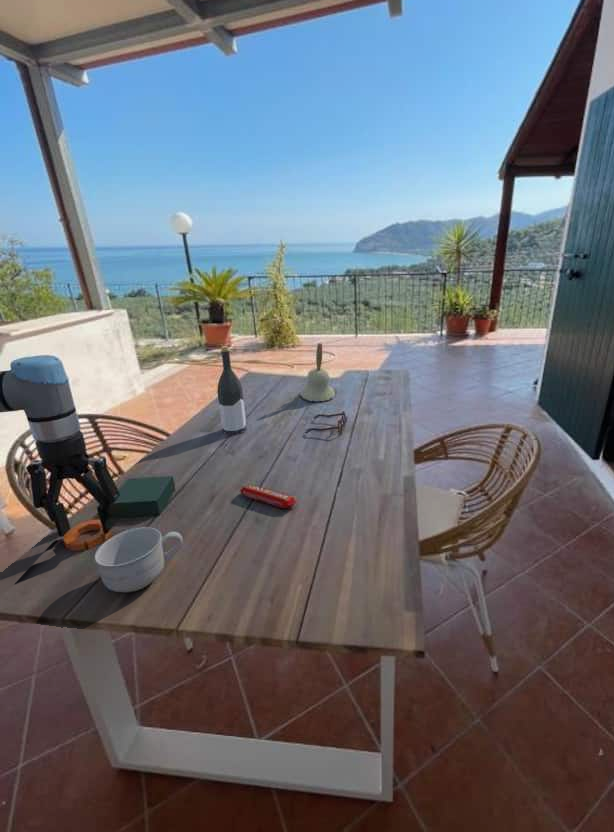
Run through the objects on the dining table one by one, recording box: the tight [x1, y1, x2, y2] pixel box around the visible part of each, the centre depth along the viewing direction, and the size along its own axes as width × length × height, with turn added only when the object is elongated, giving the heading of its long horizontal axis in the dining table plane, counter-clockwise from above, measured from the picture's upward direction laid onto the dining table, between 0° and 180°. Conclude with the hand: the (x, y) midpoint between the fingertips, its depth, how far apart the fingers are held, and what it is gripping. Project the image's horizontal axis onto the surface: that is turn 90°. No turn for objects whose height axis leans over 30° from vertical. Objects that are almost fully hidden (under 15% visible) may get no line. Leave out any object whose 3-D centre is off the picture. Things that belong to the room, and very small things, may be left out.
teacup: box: [94, 526, 184, 593], centre depth 72 cm, size 14×11×8 cm
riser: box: [111, 475, 176, 519], centre depth 95 cm, size 11×11×4 cm
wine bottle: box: [216, 345, 247, 435], centre depth 132 cm, size 8×8×30 cm
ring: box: [62, 518, 113, 552], centre depth 84 cm, size 8×8×2 cm
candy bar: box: [239, 483, 298, 509], centre depth 96 cm, size 16×4×3 cm, turn 65°
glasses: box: [304, 410, 347, 435], centre depth 137 cm, size 13×13×5 cm
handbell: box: [299, 342, 336, 402], centre depth 164 cm, size 15×15×25 cm
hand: (87, 530), depth 84 cm, fingers closed on ring, 8 cm apart
